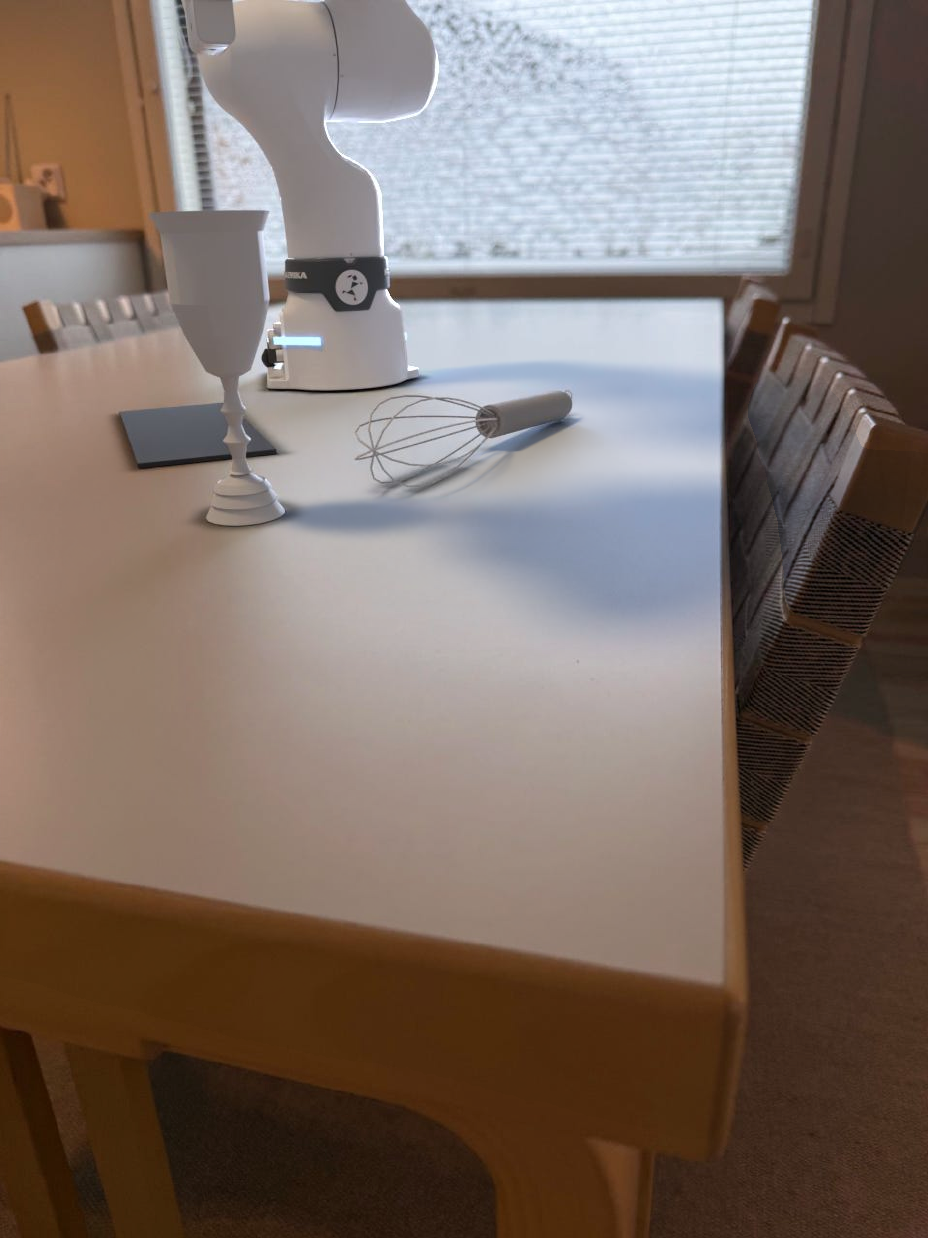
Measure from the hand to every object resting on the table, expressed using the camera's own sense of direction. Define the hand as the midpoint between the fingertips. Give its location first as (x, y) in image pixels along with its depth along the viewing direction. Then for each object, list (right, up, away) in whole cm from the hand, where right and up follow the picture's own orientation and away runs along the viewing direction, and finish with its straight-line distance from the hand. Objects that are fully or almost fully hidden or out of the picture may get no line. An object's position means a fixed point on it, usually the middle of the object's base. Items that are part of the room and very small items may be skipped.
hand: (213, 49), depth 44 cm
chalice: (-2, -20, +16) cm, 26 cm away
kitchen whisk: (+13, -13, +32) cm, 37 cm away
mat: (-14, -10, +42) cm, 45 cm away
